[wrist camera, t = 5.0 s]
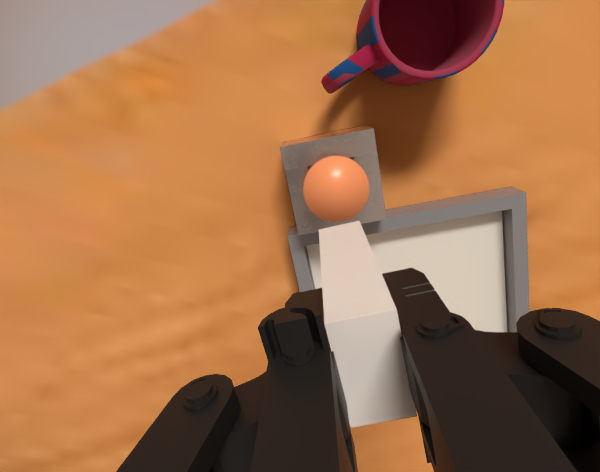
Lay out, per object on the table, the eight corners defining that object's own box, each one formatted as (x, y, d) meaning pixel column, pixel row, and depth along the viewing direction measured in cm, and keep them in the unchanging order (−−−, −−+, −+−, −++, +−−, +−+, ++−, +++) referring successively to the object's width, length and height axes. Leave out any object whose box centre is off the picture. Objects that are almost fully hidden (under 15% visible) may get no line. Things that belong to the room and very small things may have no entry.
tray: (327, 402, 36) (328, 419, 34) (288, 227, 31) (287, 236, 29) (518, 375, 35) (531, 391, 33) (511, 186, 30) (526, 192, 28)
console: (300, 219, 31) (298, 235, 27) (284, 141, 29) (279, 147, 25) (377, 204, 30) (386, 219, 27) (365, 125, 29) (373, 128, 25)
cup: (471, 56, 27) (521, 40, 21) (337, 124, 29) (345, 129, 22) (436, -47, 25) (479, -100, 19) (296, 32, 27) (290, 9, 20)
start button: (310, 213, 28) (310, 227, 25) (299, 157, 27) (297, 164, 24) (366, 202, 28) (373, 215, 25) (357, 145, 27) (364, 150, 23)
